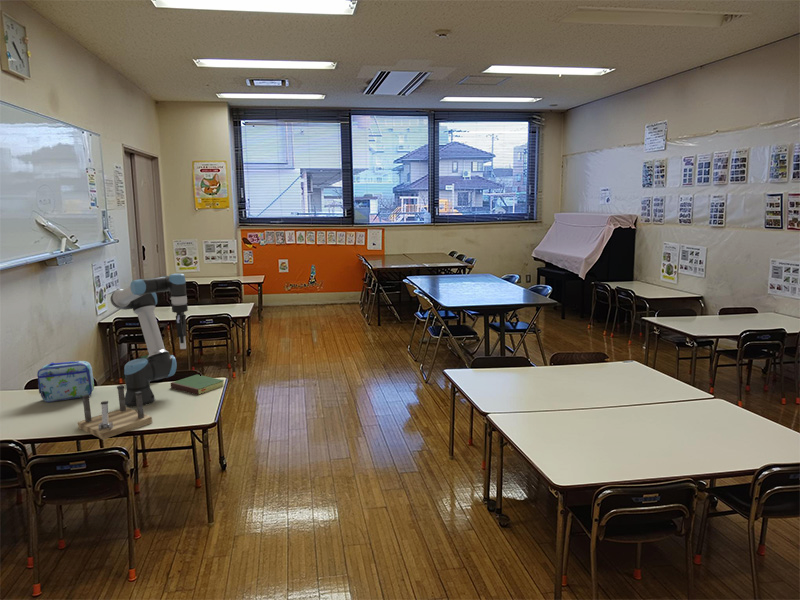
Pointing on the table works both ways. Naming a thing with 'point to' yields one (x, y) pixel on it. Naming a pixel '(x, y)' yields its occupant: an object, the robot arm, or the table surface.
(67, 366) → the lunch box
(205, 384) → the hardcover book
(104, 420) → the hinged leg
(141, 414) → the stool top
